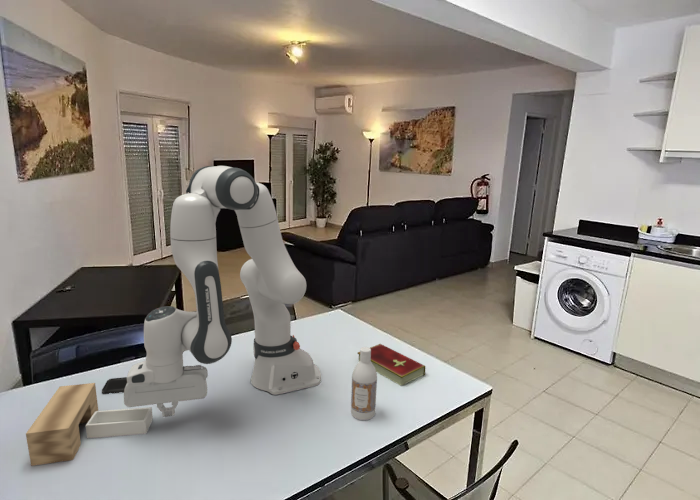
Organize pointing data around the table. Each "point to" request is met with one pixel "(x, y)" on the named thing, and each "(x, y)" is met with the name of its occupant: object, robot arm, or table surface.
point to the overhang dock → (61, 424)
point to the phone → (115, 385)
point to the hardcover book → (395, 365)
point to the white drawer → (119, 422)
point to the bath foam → (364, 387)
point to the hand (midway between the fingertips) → (168, 415)
